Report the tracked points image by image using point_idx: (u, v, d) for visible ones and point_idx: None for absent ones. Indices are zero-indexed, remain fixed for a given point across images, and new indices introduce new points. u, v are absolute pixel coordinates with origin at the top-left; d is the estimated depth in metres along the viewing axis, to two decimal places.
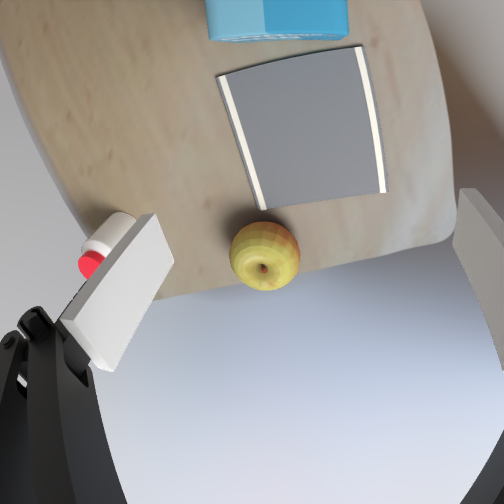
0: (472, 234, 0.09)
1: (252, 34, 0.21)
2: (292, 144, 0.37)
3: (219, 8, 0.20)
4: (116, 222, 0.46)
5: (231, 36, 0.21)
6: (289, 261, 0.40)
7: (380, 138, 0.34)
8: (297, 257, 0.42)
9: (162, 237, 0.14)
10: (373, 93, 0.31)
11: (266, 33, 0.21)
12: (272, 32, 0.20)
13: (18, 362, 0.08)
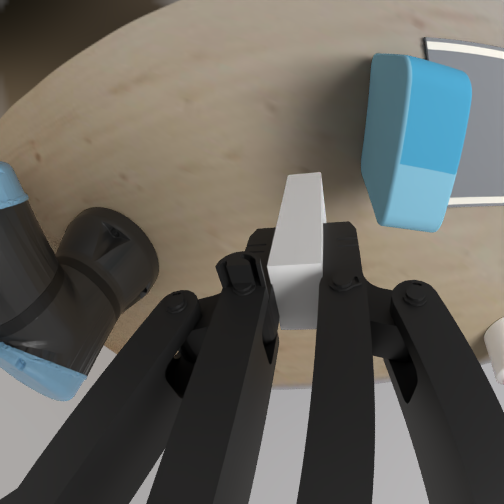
0: None
1: (451, 189, 0.17)
2: None
3: (407, 217, 0.19)
4: (496, 340, 0.36)
5: (444, 212, 0.18)
6: None
7: None
8: None
9: None
10: (478, 44, 0.18)
11: (456, 173, 0.16)
12: (457, 166, 0.16)
13: (180, 340, 0.08)
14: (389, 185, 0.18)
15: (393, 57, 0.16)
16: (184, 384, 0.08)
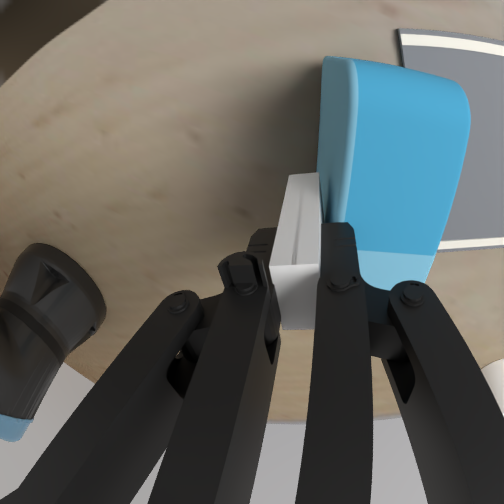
0: None
1: None
2: None
3: None
4: None
5: None
6: None
7: None
8: None
9: None
10: (475, 37, 0.13)
11: (435, 253, 0.11)
12: (438, 243, 0.11)
13: (182, 340, 0.08)
14: None
15: (336, 63, 0.11)
16: (185, 384, 0.08)
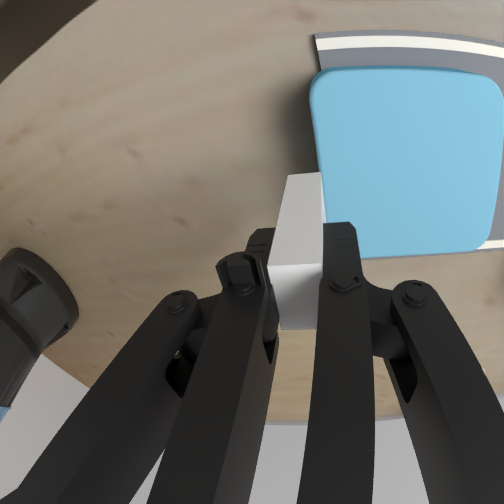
0: None
1: None
2: None
3: None
4: None
5: None
6: None
7: (477, 41, 0.13)
8: None
9: None
10: (403, 32, 0.14)
11: None
12: None
13: (181, 340, 0.08)
14: (493, 207, 0.16)
15: (454, 77, 0.12)
16: (184, 384, 0.08)
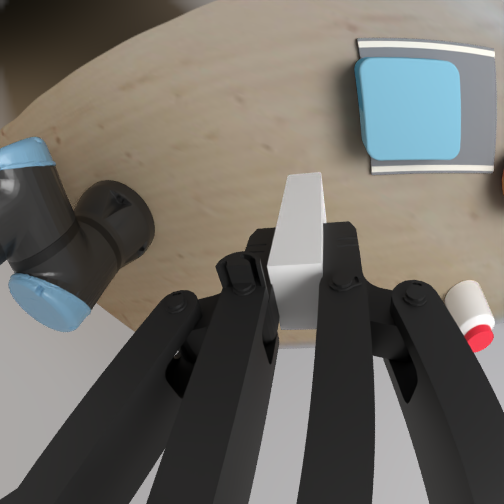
0: None
1: None
2: None
3: None
4: (454, 302, 0.44)
5: None
6: None
7: (447, 43, 0.25)
8: None
9: None
10: (404, 39, 0.27)
11: None
12: None
13: (181, 340, 0.08)
14: (459, 132, 0.28)
15: (430, 62, 0.24)
16: (184, 384, 0.08)
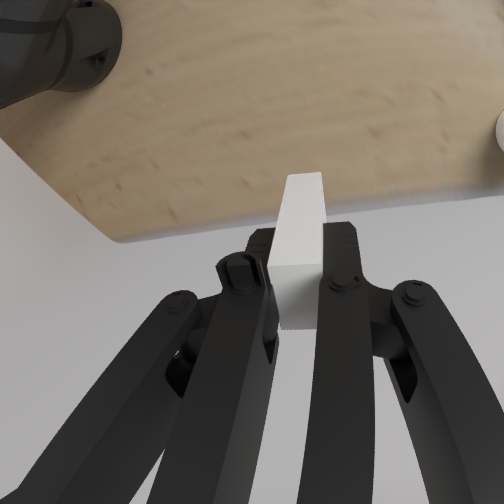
0: None
1: None
2: None
3: None
4: None
5: None
6: None
7: None
8: None
9: None
10: None
11: None
12: None
13: (181, 340, 0.08)
14: None
15: None
16: (184, 384, 0.08)
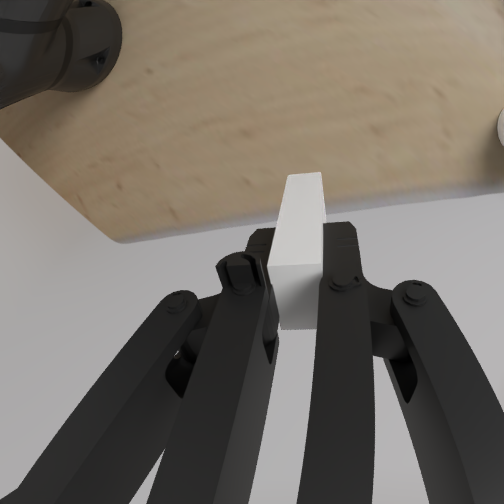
0: None
1: None
2: None
3: None
4: None
5: None
6: None
7: None
8: None
9: None
10: None
11: None
12: None
13: (181, 340, 0.08)
14: None
15: None
16: (184, 384, 0.08)
